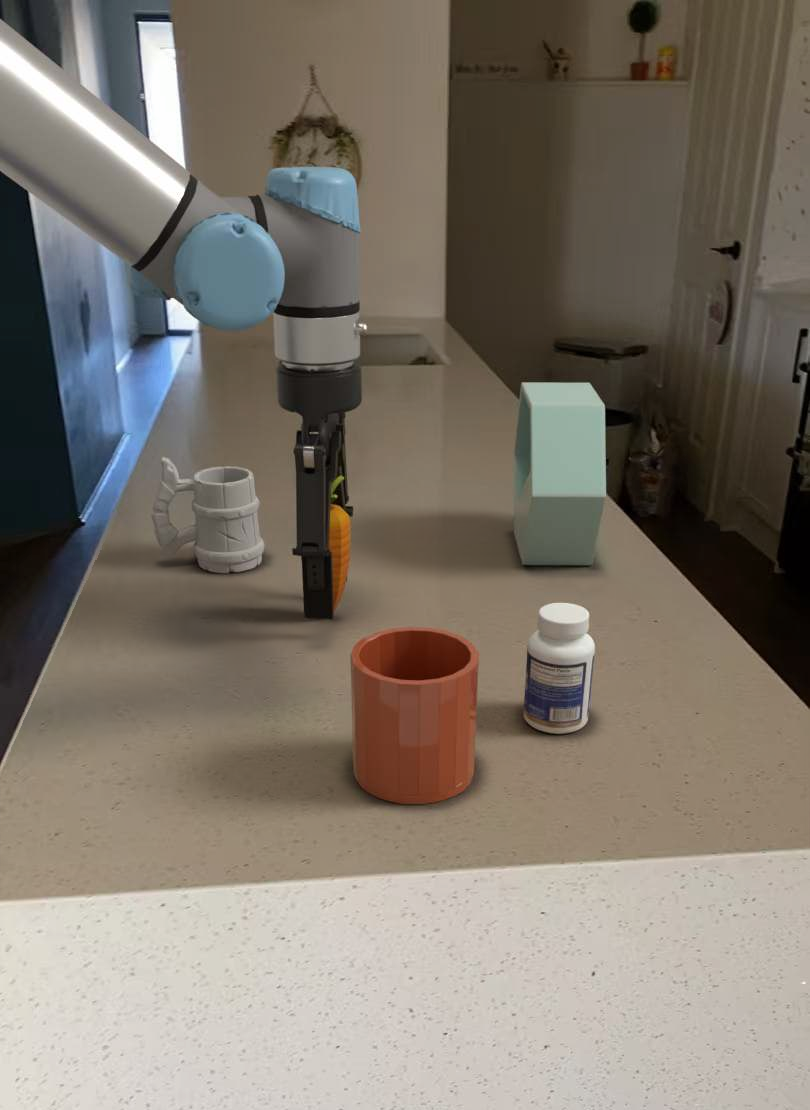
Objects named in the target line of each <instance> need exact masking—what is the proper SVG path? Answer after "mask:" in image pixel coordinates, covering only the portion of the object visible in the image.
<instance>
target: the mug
mask: <svg viewBox="0 0 810 1110" xmlns="http://www.w3.org/2000/svg"><path fill="white" fill-rule="evenodd" d="M160 463H161V474H160V475H161V476H160V477H159V482H158V487H157V490H156V493H155V498H154V501H153V505H152V510H151V512H150V513H151V515H150V516H151V519H152V522H153V527H154V534H155V539H156V540H157V543H158V544H159V546H160V547H162V548H163V550H164V551H165V553H166V555H167V557H173V556H174V555H176V553H177V552H178V551H179V549H180V548H182V547H183V546H185V545H186V544H189V543H191V542H194V543H193V546H192V548H193V553H194V555H195V556H196V558H197V564H198V566H199V567H200V568H201V569H202V570H205V571H209V572H210V573H211V572H212V573H219V574H229V573H230V572H231V573H240V572H246V571H248V570H252V569H254V568H256V567H257V566H259V565H260V564H262V562H263V561H262V560H263V556H262V554H263V553H264V551H265V550H264V549H265V548H266V547H265V545H266V544H265V542H264V540H263V538H262V537H261V535H260V525H259V517H258V510H259V508H260V506H261V504H260V503H261V502H260V499H259V498H258V496H257V495H256V489H255V487H256V486H255V478H254V473H253V472H252V471H251V470H249V469H248V468H244V467H240V466H232V465H230V466H229V465H227V466H224V467H223V466H213V467H208V468H205V469H204V468H203V469H201V470H199V471H197V472H195V473H194V475H193V478H182V479H181V478H180V476H179V472H178V468H177V467H176V465H175V464H174V463H173V461H172V460H171V459H170V458H167V457H166V456H162V457H161V459H160ZM189 491H190V492H193V496H194V498H193V500H192V501H191V510H192V512H193V513H194V517H195V524H192V525H188V526H186V527H184V528H182V529H180V530H178V528H176V527H175V526H174V525H173V523H171V522H170V514H169V513H170V510H169V507H170V504H171V503H172V502H173V500H174V498H175V497H176V496H177V493H179V492H189Z"/></svg>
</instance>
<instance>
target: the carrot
mask: <svg viewBox="0 0 810 1110" xmlns="http://www.w3.org/2000/svg"><path fill="white" fill-rule="evenodd" d="M344 479H345V478H344V477H343V476H339V477H338V478H336V480H334V481H333V483H332V484H331V507H330V534H329V547H330V552H332V573H333V606H334V612H335V611H336V609H337V607H338V605H339V603H340V602H341V599H342V596H343V593H344V591H345V587H346V584H347V581H346V578H347V579H348V572H349V566H350V559H351V558H350V557H351V555H350V554H351V518H350V516H349V515H348V514H347V513H346V512H345V511H344V510H343V509H342V508H341V507H340V506H338V505H333V504H332V503H333V501H334V500H335V499H336V498H337V495H335V494H332V493H333V492H334V490H335V488H336V487H337V486H338V484H340V483H341V482H342V481H343V480H344ZM300 561H302V556H300Z"/></svg>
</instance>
